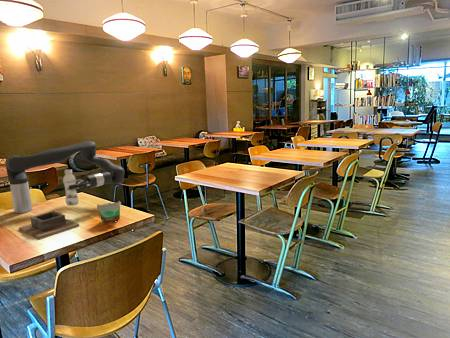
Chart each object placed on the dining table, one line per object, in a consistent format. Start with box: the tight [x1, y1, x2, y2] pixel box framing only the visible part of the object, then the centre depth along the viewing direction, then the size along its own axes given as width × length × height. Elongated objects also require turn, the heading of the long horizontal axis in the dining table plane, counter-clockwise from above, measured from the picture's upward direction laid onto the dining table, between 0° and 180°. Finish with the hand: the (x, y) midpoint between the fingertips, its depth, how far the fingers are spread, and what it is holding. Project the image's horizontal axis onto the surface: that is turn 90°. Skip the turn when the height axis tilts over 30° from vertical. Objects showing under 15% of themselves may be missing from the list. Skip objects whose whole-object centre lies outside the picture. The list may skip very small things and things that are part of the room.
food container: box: [96, 200, 122, 224], centre depth 180 cm, size 12×6×10 cm, turn 117°
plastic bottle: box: [62, 168, 80, 207], centre depth 188 cm, size 6×7×20 cm
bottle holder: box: [18, 210, 80, 240], centre depth 174 cm, size 22×20×6 cm
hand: (66, 186), depth 186 cm, fingers closed on plastic bottle, 6 cm apart
